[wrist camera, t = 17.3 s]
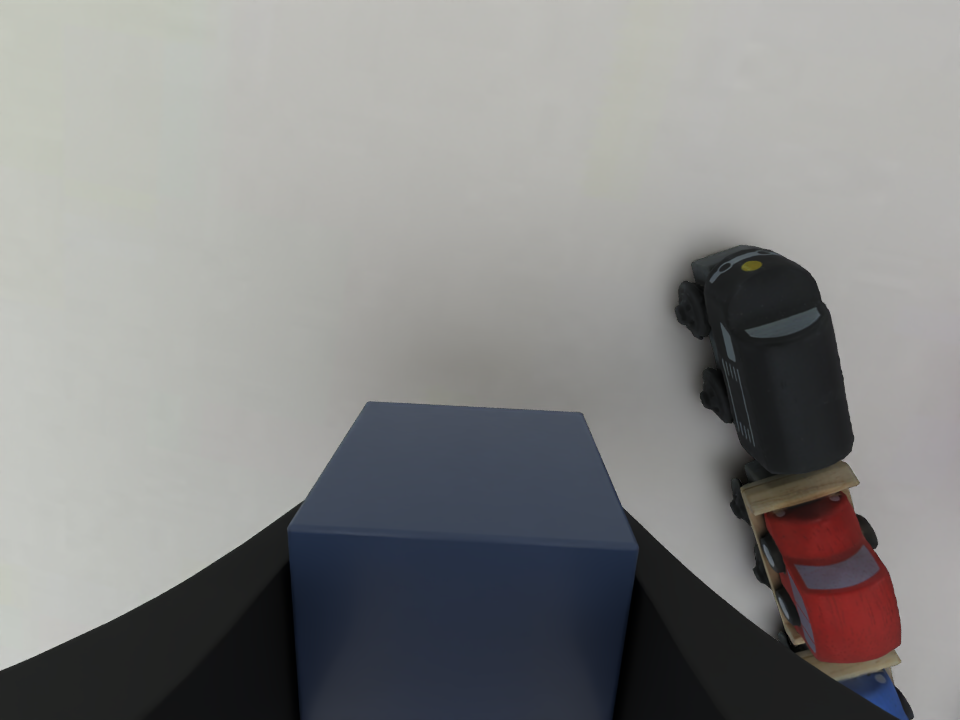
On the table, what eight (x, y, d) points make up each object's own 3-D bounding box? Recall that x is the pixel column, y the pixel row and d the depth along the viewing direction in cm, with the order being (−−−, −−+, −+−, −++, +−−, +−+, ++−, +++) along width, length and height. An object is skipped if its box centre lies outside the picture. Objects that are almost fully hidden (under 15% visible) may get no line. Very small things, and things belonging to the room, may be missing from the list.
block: (369, 581, 12) (301, 786, 8) (366, 399, 11) (284, 526, 7) (563, 591, 12) (601, 804, 8) (583, 410, 11) (641, 546, 6)
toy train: (765, 224, 17) (873, 233, 12) (883, 717, 23) (988, 858, 18) (651, 267, 18) (712, 292, 13) (794, 740, 23) (874, 882, 19)
